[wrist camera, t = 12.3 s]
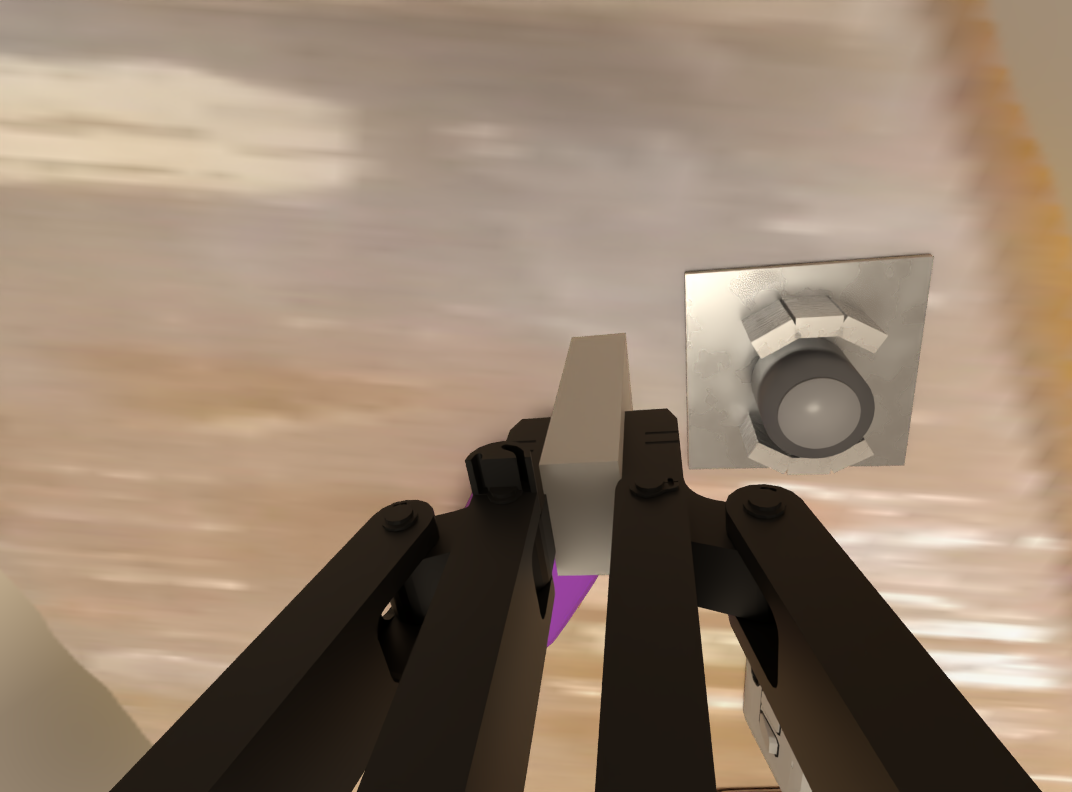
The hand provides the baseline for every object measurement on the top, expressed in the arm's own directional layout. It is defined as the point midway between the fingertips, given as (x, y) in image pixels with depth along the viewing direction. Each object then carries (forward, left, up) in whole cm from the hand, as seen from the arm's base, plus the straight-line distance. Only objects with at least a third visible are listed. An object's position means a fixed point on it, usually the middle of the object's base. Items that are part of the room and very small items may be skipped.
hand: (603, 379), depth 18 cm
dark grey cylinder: (+10, +11, -23) cm, 27 cm away
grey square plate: (+10, +11, -24) cm, 28 cm away
